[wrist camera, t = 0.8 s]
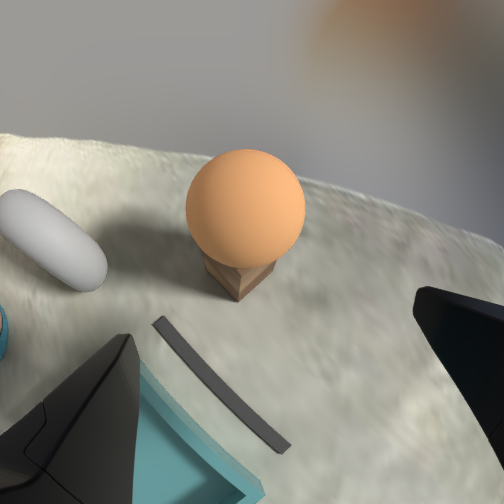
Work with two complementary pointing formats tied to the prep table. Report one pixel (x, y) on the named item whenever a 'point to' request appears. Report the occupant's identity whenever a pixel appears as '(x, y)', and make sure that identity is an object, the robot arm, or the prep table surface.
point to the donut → (52, 240)
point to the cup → (3, 332)
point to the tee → (237, 276)
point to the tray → (183, 457)
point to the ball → (245, 208)
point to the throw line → (221, 387)
